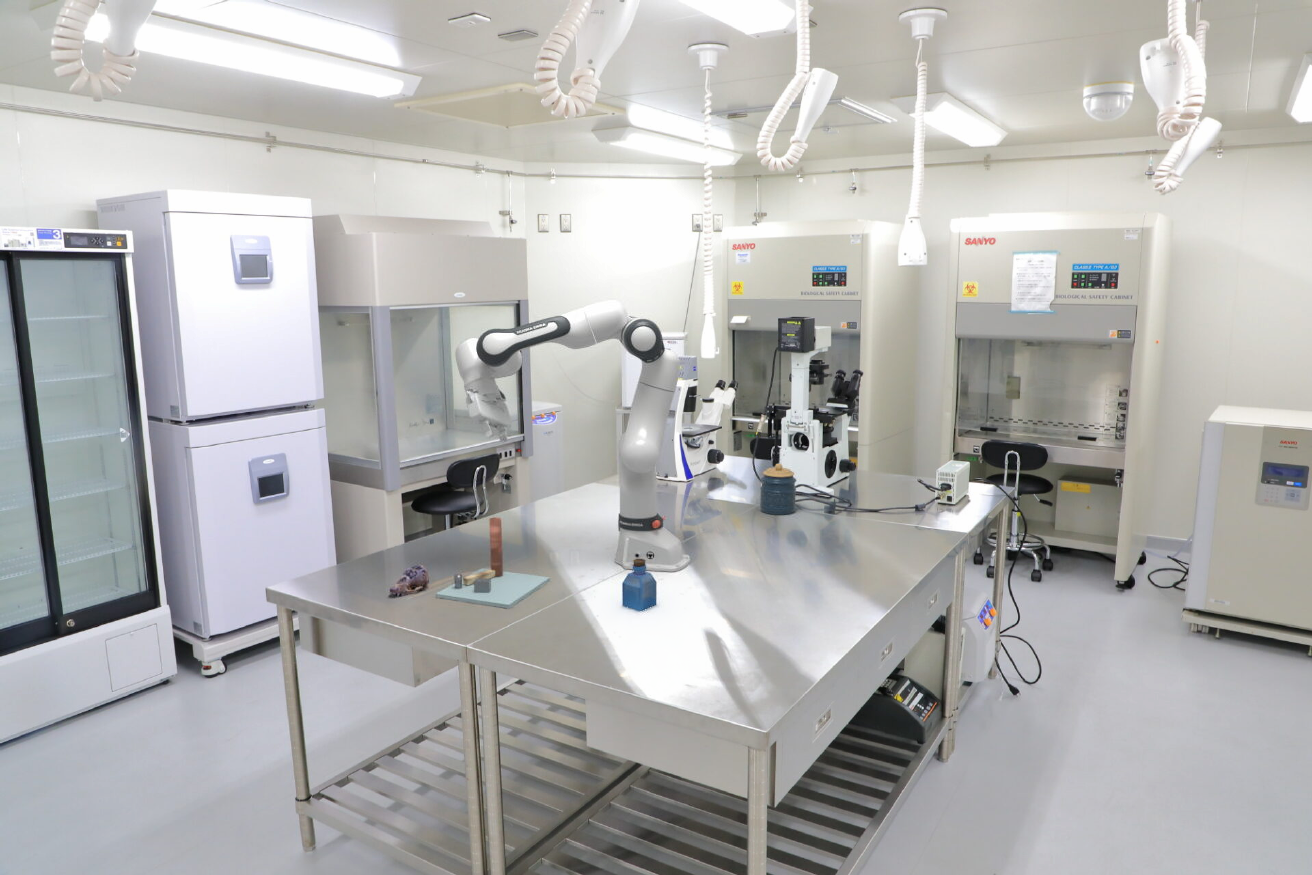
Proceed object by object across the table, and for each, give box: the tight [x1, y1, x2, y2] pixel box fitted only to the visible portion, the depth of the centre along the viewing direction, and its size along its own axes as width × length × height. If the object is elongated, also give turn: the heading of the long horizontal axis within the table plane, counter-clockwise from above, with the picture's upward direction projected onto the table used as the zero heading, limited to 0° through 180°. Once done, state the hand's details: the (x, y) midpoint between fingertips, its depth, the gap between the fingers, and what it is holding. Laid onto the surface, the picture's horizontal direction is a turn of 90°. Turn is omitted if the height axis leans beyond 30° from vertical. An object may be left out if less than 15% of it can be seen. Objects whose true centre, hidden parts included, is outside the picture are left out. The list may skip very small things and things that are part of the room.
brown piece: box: [462, 517, 504, 585], centre depth 232 cm, size 12×3×16 cm, turn 139°
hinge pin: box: [453, 573, 463, 589], centre depth 227 cm, size 2×2×4 cm
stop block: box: [474, 579, 491, 593], centre depth 225 cm, size 4×2×3 cm, turn 89°
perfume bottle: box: [621, 559, 658, 612], centre depth 217 cm, size 6×6×12 cm
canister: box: [759, 463, 797, 516], centre depth 309 cm, size 13×13×18 cm
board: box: [435, 568, 551, 609], centre depth 230 cm, size 22×22×1 cm
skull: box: [389, 564, 430, 598], centre depth 228 cm, size 12×8×6 cm, turn 143°
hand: (497, 439), depth 236 cm, fingers open, 8 cm apart
